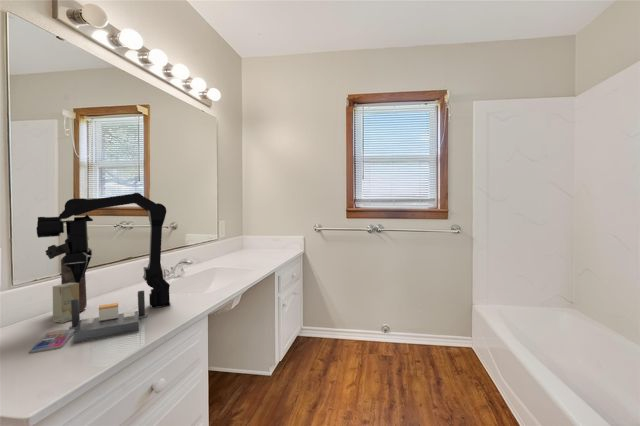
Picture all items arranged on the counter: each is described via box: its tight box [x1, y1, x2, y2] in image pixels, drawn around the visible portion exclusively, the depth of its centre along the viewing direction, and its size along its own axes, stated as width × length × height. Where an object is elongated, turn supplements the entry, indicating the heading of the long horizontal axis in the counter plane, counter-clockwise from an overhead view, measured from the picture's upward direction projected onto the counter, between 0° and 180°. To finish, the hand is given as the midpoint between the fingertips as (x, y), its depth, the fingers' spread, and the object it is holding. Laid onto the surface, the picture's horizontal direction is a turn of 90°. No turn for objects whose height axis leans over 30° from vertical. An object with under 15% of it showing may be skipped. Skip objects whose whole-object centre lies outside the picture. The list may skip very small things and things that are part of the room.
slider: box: [98, 302, 119, 321], centre depth 102 cm, size 5×3×4 cm, turn 121°
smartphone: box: [28, 328, 75, 354], centre depth 93 cm, size 7×1×15 cm
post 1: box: [68, 299, 81, 330], centre depth 102 cm, size 4×4×9 cm
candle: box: [60, 258, 88, 312], centre depth 120 cm, size 8×7×20 cm
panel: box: [73, 310, 140, 344], centre depth 100 cm, size 16×12×4 cm
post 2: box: [137, 290, 149, 320], centre depth 112 cm, size 4×4×9 cm
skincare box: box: [52, 283, 79, 324], centre depth 110 cm, size 6×4×12 cm
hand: (79, 279), depth 111 cm, fingers open, 9 cm apart
